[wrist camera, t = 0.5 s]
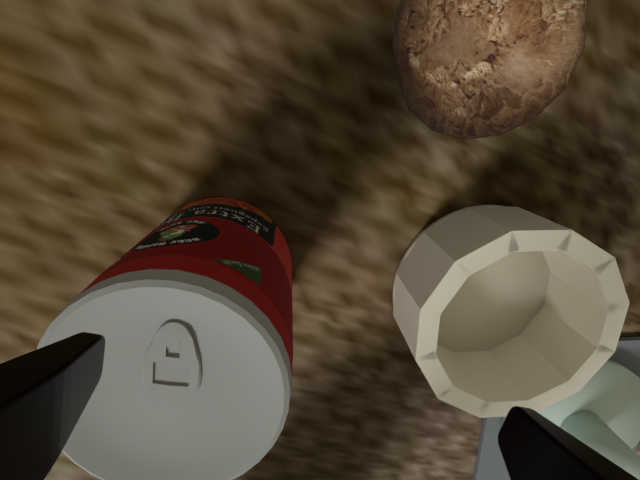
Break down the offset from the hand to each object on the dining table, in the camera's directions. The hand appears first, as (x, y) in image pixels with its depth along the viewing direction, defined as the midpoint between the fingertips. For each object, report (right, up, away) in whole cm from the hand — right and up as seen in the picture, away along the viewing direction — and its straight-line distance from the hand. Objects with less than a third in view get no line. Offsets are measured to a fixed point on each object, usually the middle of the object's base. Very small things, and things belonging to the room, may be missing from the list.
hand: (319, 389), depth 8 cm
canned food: (-5, +2, +14) cm, 15 cm away
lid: (+18, -9, +19) cm, 27 cm away
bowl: (+10, 0, +15) cm, 18 cm away
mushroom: (+7, +13, +11) cm, 18 cm away
